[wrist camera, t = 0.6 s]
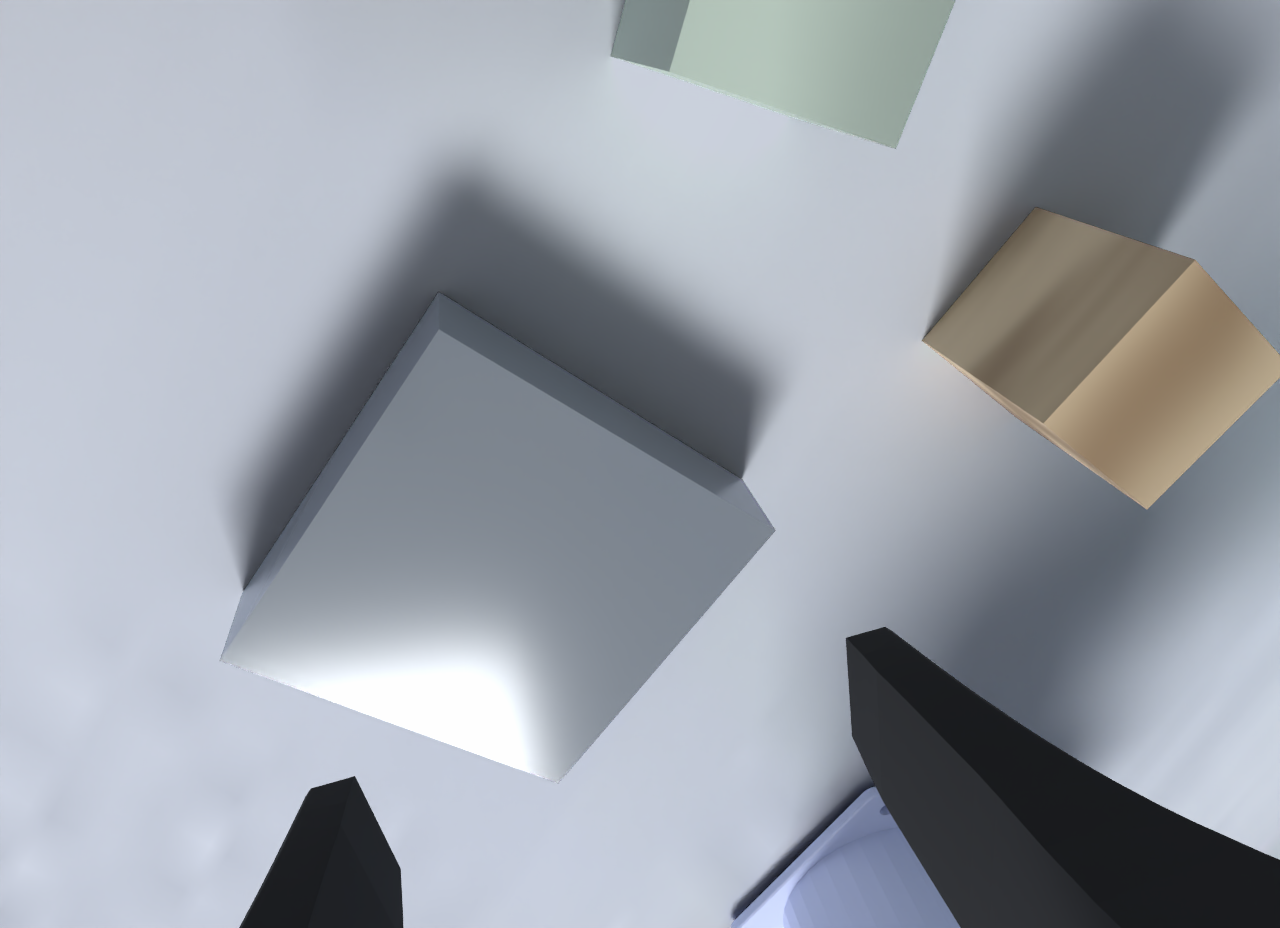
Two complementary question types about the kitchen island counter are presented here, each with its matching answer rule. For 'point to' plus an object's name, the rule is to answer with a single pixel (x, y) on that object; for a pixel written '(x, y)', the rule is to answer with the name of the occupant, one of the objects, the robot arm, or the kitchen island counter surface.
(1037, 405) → the oak block
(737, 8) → the sage block
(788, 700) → the kitchen island counter surface
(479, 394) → the slate base
